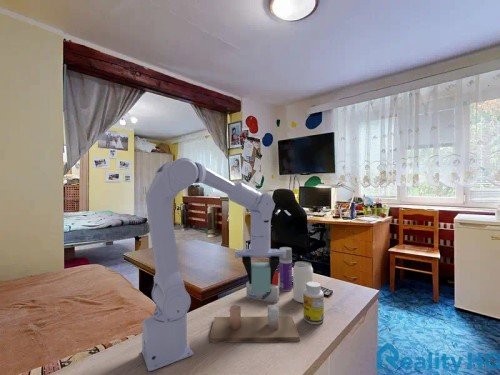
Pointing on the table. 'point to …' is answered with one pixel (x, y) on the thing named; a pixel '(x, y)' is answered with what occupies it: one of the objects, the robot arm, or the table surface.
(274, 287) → the ink cartridge box
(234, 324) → the round post
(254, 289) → the teal rectangular block
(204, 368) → the table surface
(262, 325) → the board
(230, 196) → the robot arm
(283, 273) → the container
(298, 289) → the can
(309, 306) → the supplement bottle
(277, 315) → the post
